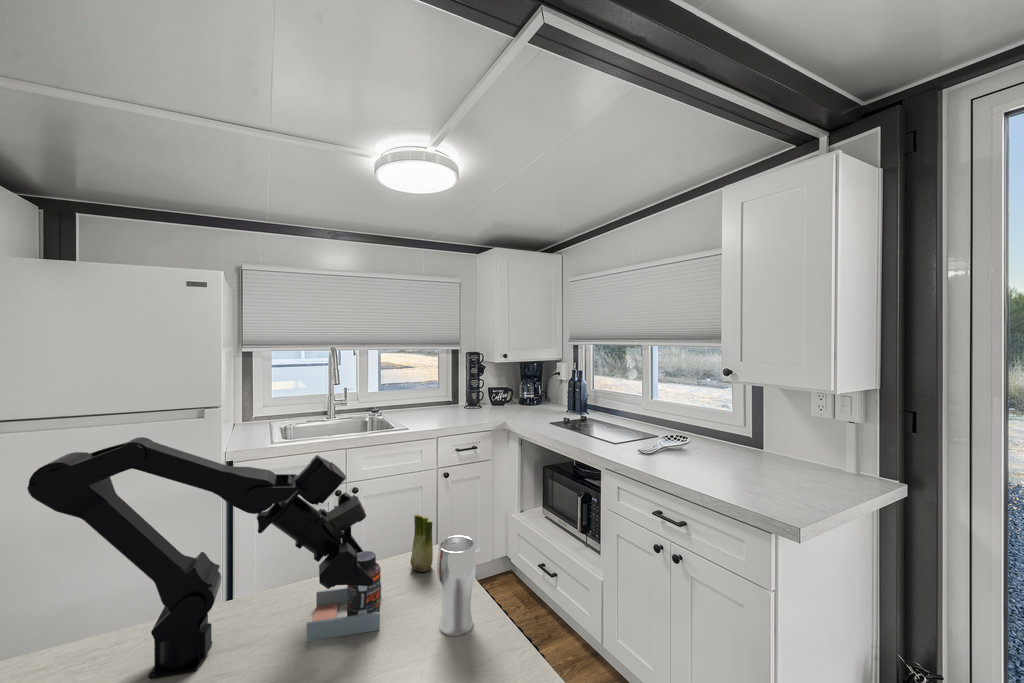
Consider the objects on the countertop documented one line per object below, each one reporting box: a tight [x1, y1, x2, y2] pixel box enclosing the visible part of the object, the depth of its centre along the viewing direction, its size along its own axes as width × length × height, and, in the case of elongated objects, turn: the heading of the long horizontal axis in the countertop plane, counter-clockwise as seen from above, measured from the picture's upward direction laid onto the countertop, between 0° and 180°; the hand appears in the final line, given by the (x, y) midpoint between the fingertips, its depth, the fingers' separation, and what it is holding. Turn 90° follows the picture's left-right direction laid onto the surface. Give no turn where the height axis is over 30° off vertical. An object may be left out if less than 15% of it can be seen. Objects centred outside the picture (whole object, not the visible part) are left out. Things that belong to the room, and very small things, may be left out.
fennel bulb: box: [410, 514, 434, 573], centre depth 99 cm, size 6×5×12 cm
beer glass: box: [436, 535, 477, 637], centre depth 80 cm, size 7×7×15 cm
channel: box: [306, 582, 382, 642], centre depth 82 cm, size 12×10×3 cm
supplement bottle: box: [346, 550, 382, 617], centre depth 82 cm, size 6×6×11 cm
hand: (368, 570), depth 82 cm, fingers open, 9 cm apart
